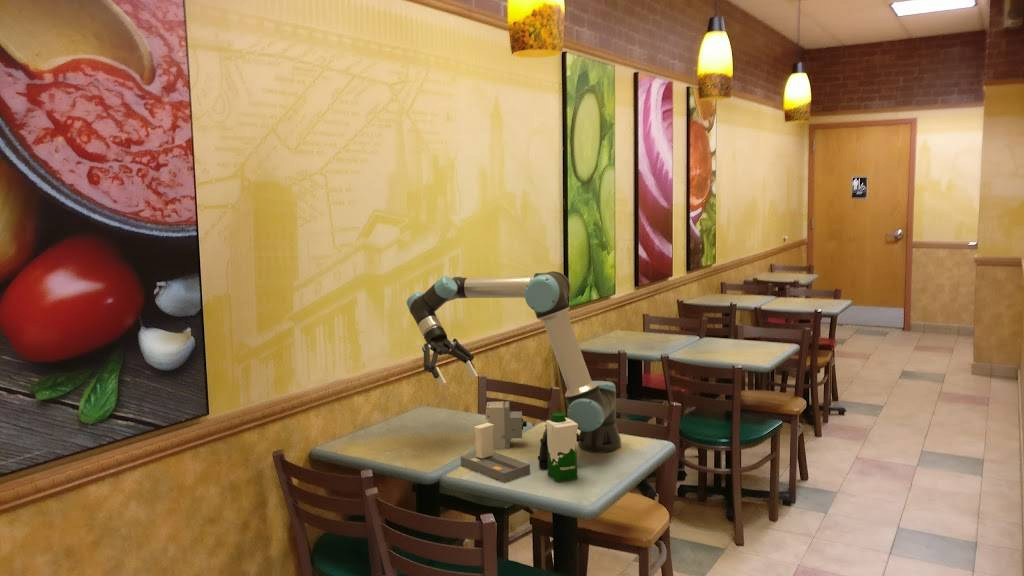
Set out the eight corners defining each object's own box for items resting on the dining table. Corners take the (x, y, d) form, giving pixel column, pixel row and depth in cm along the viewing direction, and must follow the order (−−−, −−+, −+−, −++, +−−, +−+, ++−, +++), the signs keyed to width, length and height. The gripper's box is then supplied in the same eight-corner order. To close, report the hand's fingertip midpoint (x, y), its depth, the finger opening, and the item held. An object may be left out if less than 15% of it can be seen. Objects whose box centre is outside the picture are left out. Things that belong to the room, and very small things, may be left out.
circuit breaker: (527, 448, 282) (526, 406, 280) (486, 449, 282) (485, 407, 280) (527, 441, 289) (526, 401, 287) (487, 442, 290) (486, 401, 288)
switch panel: (460, 465, 267) (460, 456, 266) (486, 457, 274) (486, 448, 273) (504, 482, 250) (504, 473, 250) (530, 473, 257) (529, 464, 257)
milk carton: (568, 470, 260) (567, 410, 257) (581, 479, 251) (581, 417, 249) (544, 474, 256) (542, 414, 254) (556, 484, 248) (555, 421, 245)
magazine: (528, 462, 263) (547, 420, 262) (564, 476, 266) (583, 435, 265) (530, 466, 260) (549, 424, 259) (567, 480, 262) (585, 438, 261)
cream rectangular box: (474, 456, 264) (474, 426, 263) (488, 452, 268) (488, 422, 267) (480, 459, 262) (479, 428, 261) (494, 454, 266) (493, 424, 265)
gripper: (456, 333, 292) (483, 381, 283) (399, 342, 275) (425, 394, 266) (465, 321, 287) (492, 369, 278) (407, 330, 271) (434, 381, 262)
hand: (459, 381), depth 272 cm, fingers open, 13 cm apart
